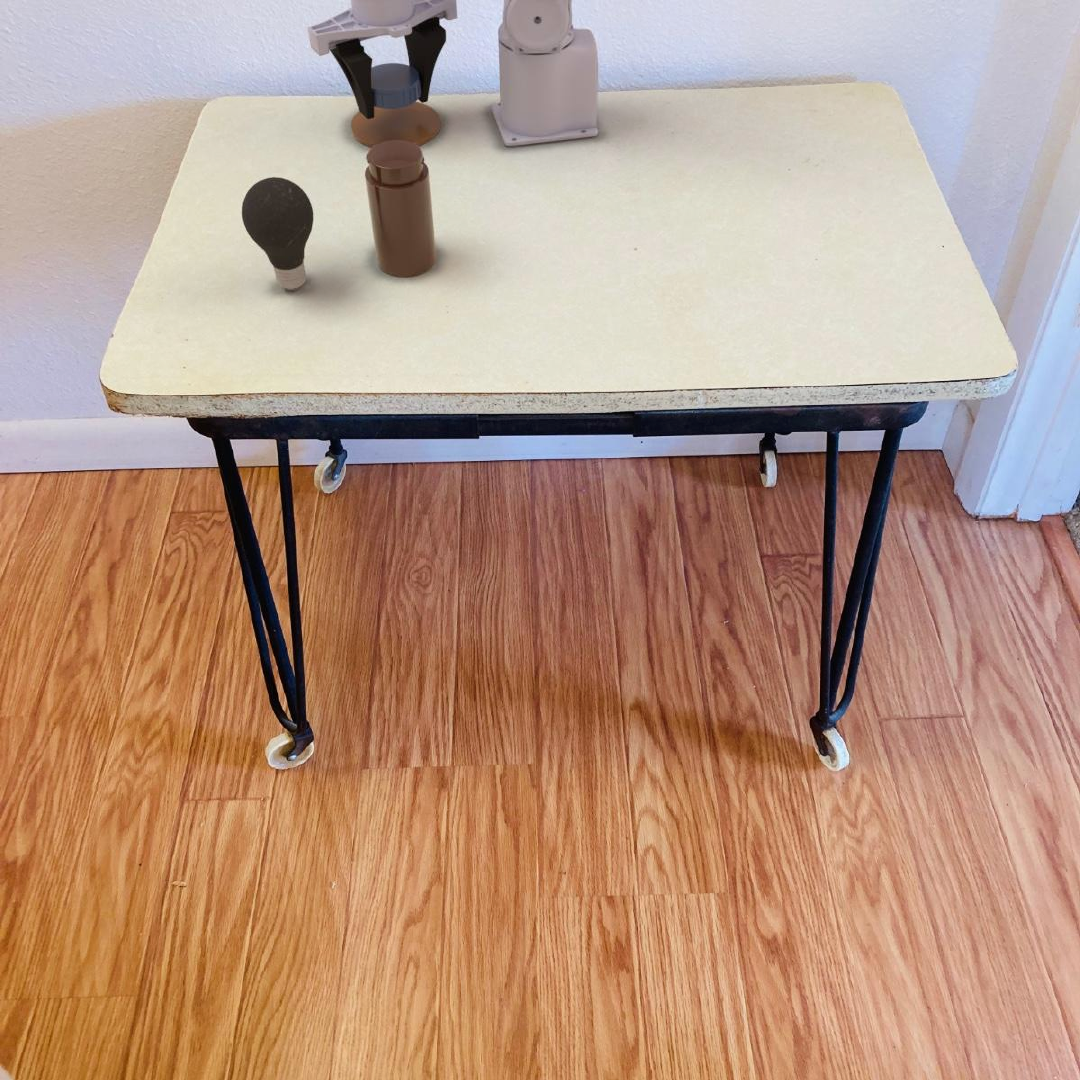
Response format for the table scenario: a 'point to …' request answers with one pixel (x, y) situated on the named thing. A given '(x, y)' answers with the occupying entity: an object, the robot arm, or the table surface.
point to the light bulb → (280, 226)
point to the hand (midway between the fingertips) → (393, 106)
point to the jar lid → (394, 85)
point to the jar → (400, 208)
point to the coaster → (397, 125)
